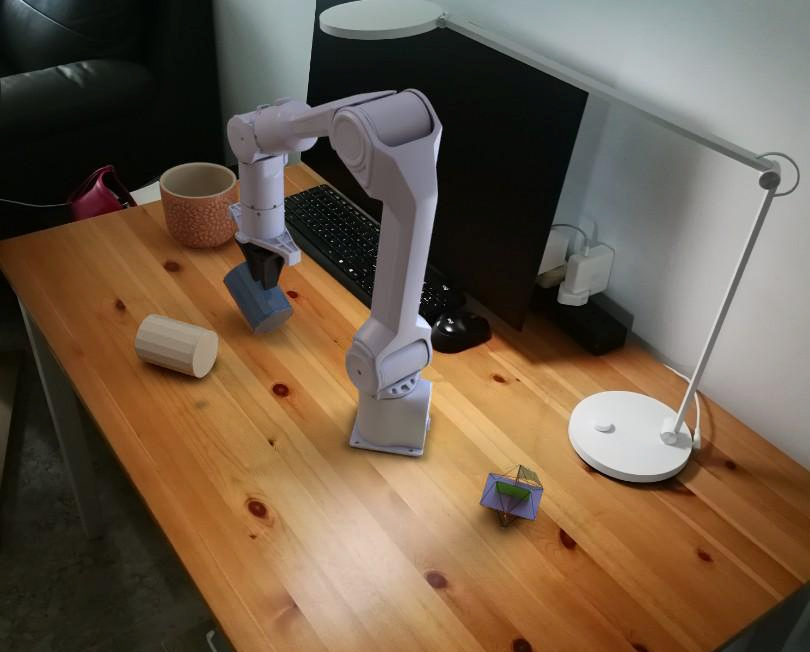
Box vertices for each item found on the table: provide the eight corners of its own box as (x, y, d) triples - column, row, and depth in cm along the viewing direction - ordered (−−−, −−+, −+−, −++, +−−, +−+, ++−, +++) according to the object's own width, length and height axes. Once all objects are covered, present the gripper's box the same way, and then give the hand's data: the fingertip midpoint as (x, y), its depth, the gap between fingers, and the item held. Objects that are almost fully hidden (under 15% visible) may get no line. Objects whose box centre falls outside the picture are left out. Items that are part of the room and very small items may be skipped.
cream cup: (221, 326, 118) (165, 309, 120) (195, 336, 112) (137, 319, 114) (215, 370, 120) (160, 353, 122) (190, 383, 114) (132, 365, 116)
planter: (256, 234, 146) (252, 177, 139) (206, 265, 138) (200, 206, 131) (202, 211, 151) (196, 155, 144) (151, 240, 143) (142, 181, 136)
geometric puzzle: (529, 543, 96) (547, 476, 96) (471, 525, 98) (488, 459, 97) (533, 530, 103) (550, 468, 103) (479, 514, 105) (495, 452, 104)
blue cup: (301, 309, 126) (270, 259, 127) (280, 308, 119) (248, 255, 121) (268, 334, 128) (238, 285, 129) (246, 334, 121) (214, 282, 123)
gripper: (206, 183, 113) (213, 267, 122) (268, 233, 106) (271, 318, 115) (250, 169, 117) (254, 252, 126) (314, 216, 110) (312, 300, 119)
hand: (265, 283), depth 121 cm, fingers closed
